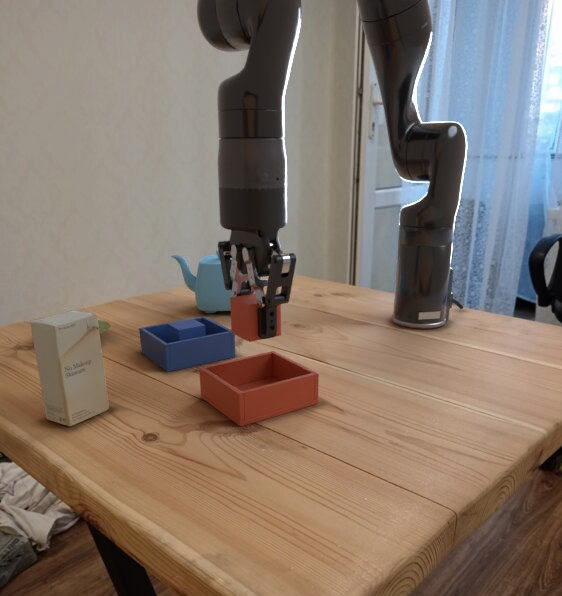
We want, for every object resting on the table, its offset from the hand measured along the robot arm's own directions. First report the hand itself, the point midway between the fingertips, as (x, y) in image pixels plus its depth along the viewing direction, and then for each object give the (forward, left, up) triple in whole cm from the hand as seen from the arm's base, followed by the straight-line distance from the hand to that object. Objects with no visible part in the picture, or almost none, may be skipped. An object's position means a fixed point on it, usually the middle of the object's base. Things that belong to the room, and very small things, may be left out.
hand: (256, 331), depth 69 cm
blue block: (0, -21, -8) cm, 23 cm away
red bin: (0, 0, -9) cm, 9 cm away
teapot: (-17, -43, -9) cm, 47 cm away
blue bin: (0, -21, -9) cm, 23 cm away
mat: (+12, -39, -9) cm, 42 cm away
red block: (0, 0, 0) cm, 0 cm away
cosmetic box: (+20, -9, -9) cm, 24 cm away
